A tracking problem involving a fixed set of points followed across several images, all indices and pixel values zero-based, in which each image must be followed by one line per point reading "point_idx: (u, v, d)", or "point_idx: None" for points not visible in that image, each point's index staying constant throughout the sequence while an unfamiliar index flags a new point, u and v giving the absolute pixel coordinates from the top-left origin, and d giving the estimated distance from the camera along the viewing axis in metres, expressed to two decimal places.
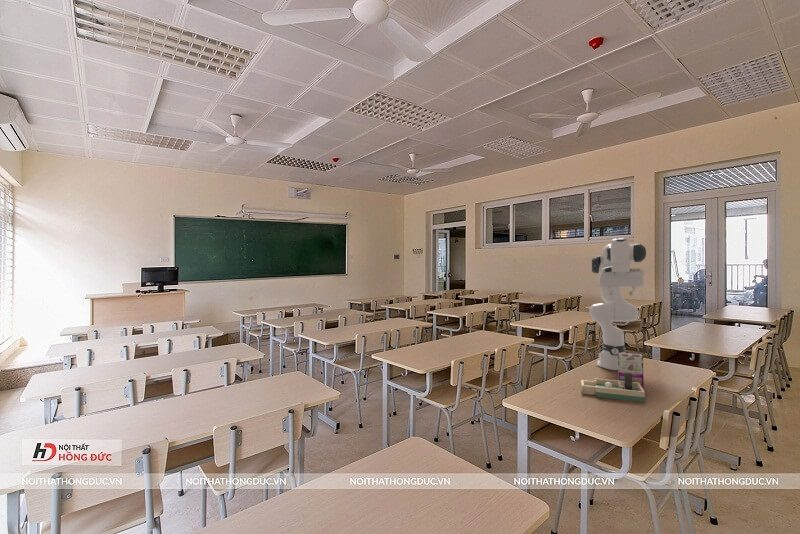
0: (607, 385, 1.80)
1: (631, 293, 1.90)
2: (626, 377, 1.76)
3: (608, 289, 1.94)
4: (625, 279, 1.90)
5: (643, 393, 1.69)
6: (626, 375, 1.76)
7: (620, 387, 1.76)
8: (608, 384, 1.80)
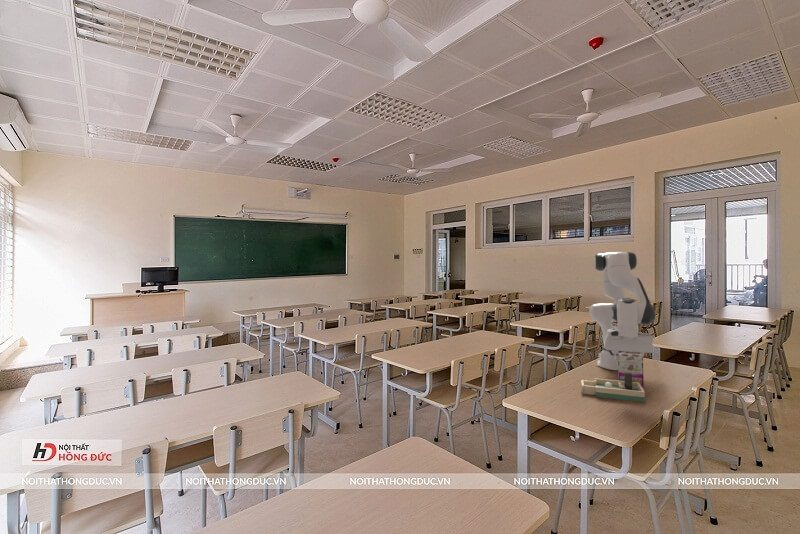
0: (607, 385, 1.80)
1: (640, 360, 1.74)
2: (626, 377, 1.76)
3: (614, 354, 1.78)
4: (633, 344, 1.74)
5: (643, 393, 1.69)
6: (626, 375, 1.76)
7: (620, 387, 1.76)
8: (608, 384, 1.80)
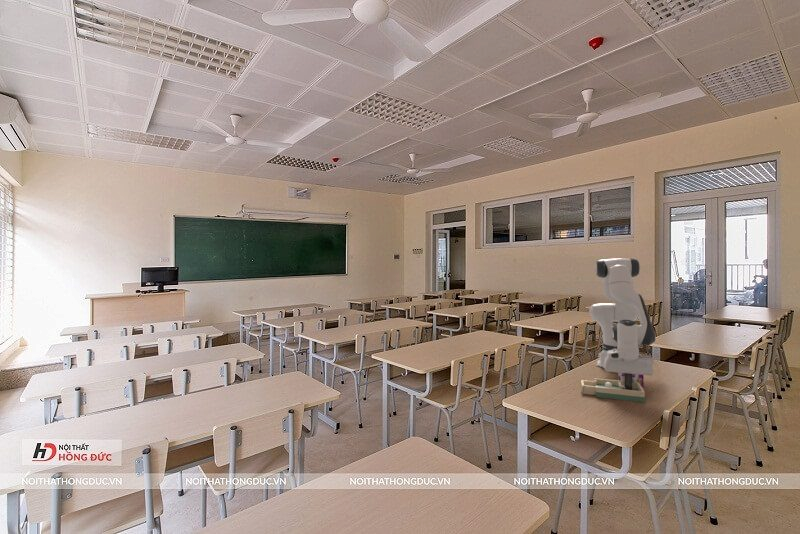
0: (607, 385, 1.80)
1: (634, 381, 1.75)
2: (626, 377, 1.76)
3: (620, 376, 1.78)
4: (633, 366, 1.75)
5: (643, 393, 1.69)
6: (626, 375, 1.76)
7: (620, 387, 1.76)
8: (608, 384, 1.80)
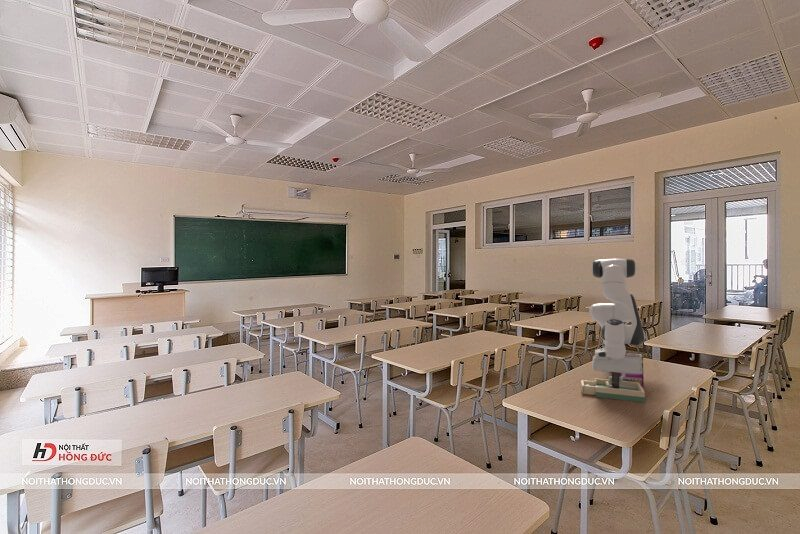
0: None
1: (621, 380, 1.78)
2: (613, 376, 1.79)
3: (608, 374, 1.80)
4: (620, 365, 1.77)
5: (643, 393, 1.69)
6: (613, 374, 1.79)
7: (607, 386, 1.79)
8: None
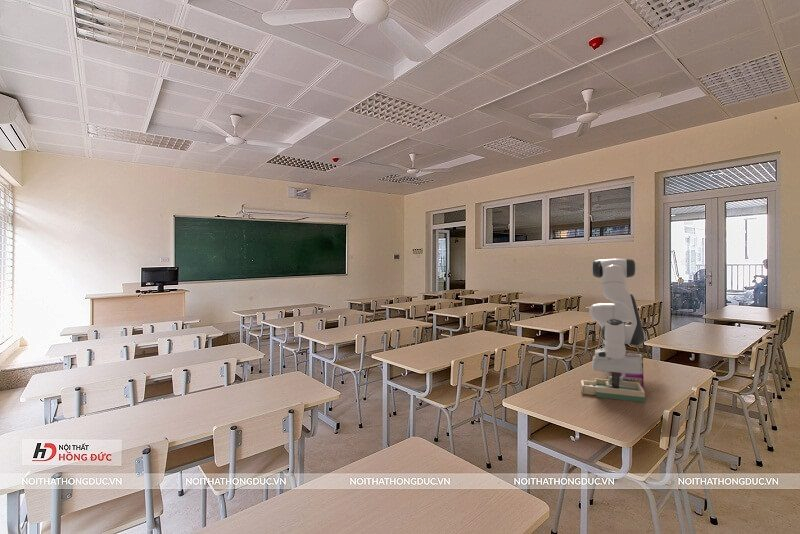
0: None
1: (621, 380, 1.78)
2: (613, 376, 1.79)
3: (608, 374, 1.80)
4: (620, 365, 1.77)
5: (643, 393, 1.69)
6: (613, 374, 1.79)
7: (607, 386, 1.79)
8: None
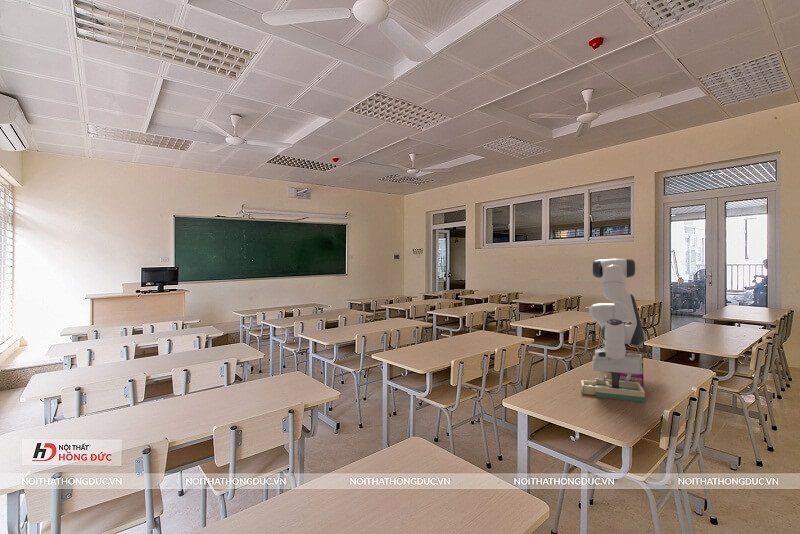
0: None
1: (626, 380, 1.77)
2: (613, 376, 1.79)
3: (602, 374, 1.81)
4: (620, 365, 1.77)
5: (643, 393, 1.69)
6: (613, 374, 1.79)
7: (607, 386, 1.79)
8: None
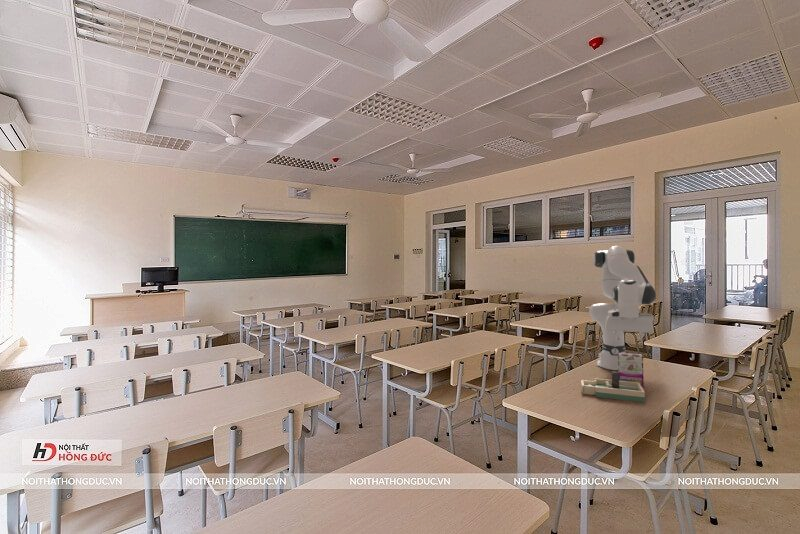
0: None
1: (640, 339, 1.77)
2: (613, 376, 1.79)
3: (615, 334, 1.82)
4: (634, 324, 1.77)
5: (643, 393, 1.69)
6: (613, 374, 1.79)
7: (607, 386, 1.79)
8: None
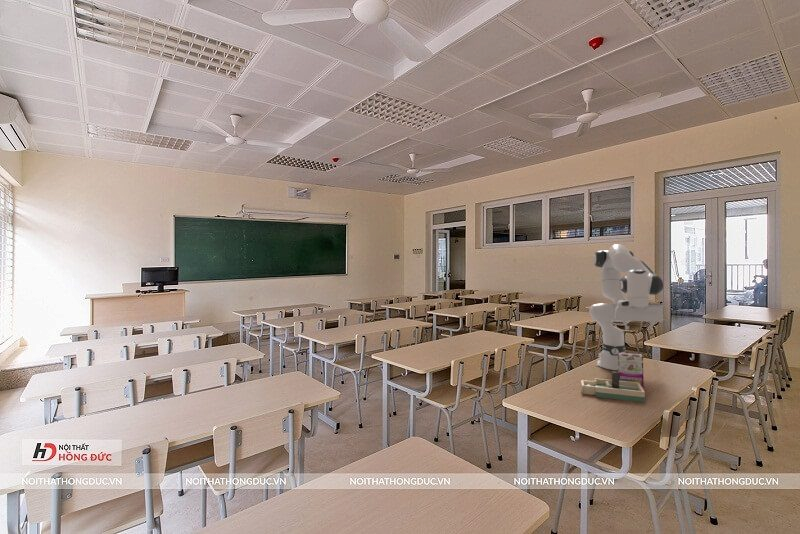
0: None
1: (650, 329, 1.78)
2: (613, 376, 1.79)
3: (625, 324, 1.82)
4: (643, 314, 1.78)
5: (643, 393, 1.69)
6: (613, 374, 1.79)
7: (607, 386, 1.79)
8: None
